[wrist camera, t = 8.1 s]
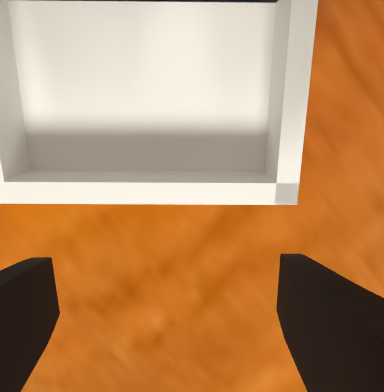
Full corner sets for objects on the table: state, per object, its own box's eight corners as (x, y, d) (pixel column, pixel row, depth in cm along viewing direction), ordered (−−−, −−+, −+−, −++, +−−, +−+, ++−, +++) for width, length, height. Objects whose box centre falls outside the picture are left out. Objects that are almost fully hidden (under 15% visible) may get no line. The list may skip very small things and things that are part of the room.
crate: (27, 181, 18) (-15, 203, 15) (3, 9, 16) (-56, -20, 12) (274, 182, 19) (296, 204, 15) (288, 11, 16) (319, -16, 12)
